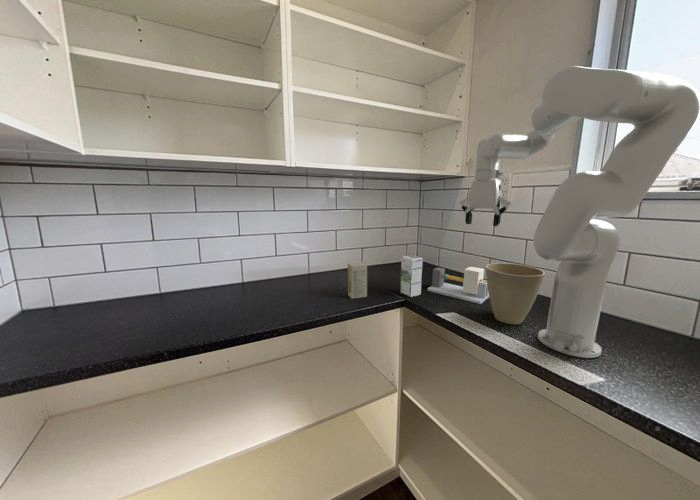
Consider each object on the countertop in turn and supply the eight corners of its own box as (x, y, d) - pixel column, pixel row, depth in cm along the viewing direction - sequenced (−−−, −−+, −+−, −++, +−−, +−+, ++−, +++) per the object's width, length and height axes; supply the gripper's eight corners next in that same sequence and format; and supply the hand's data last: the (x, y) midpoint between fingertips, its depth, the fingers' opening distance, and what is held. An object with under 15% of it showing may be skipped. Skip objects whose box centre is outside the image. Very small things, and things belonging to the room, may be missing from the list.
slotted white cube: (476, 294, 99) (478, 272, 97) (462, 291, 102) (464, 269, 101) (481, 290, 103) (484, 268, 102) (468, 287, 106) (470, 266, 105)
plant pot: (490, 305, 94) (495, 260, 91) (542, 319, 84) (549, 269, 81) (472, 318, 84) (478, 268, 81) (529, 336, 73) (537, 279, 70)
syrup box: (421, 294, 104) (423, 257, 101) (410, 297, 101) (412, 259, 98) (410, 290, 109) (412, 254, 106) (399, 293, 105) (401, 256, 103)
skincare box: (363, 293, 105) (363, 262, 102) (367, 297, 101) (368, 264, 98) (347, 294, 103) (347, 263, 100) (350, 299, 99) (351, 266, 96)
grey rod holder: (486, 305, 94) (489, 283, 93) (427, 290, 109) (428, 271, 107) (496, 296, 103) (499, 276, 101) (440, 284, 117) (441, 265, 116)
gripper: (517, 175, 93) (511, 226, 96) (467, 178, 105) (463, 222, 109) (509, 174, 88) (503, 227, 91) (457, 177, 101) (454, 223, 104)
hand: (481, 225), depth 100 cm, fingers open, 9 cm apart
